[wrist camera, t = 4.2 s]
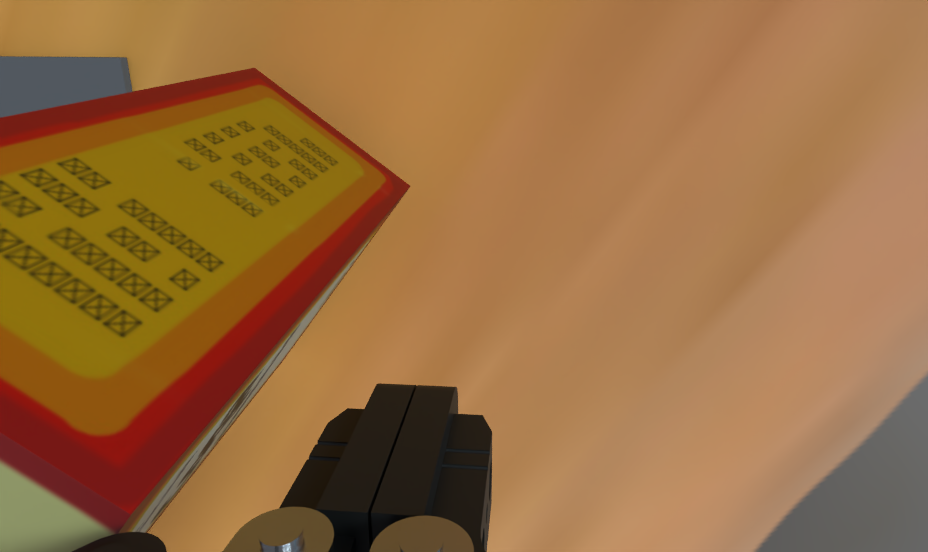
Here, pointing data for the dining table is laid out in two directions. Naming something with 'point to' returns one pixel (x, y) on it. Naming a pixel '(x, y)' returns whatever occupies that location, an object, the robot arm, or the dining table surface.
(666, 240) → the dining table surface
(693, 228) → the dining table surface
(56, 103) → the bookend
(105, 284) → the baking soda box
